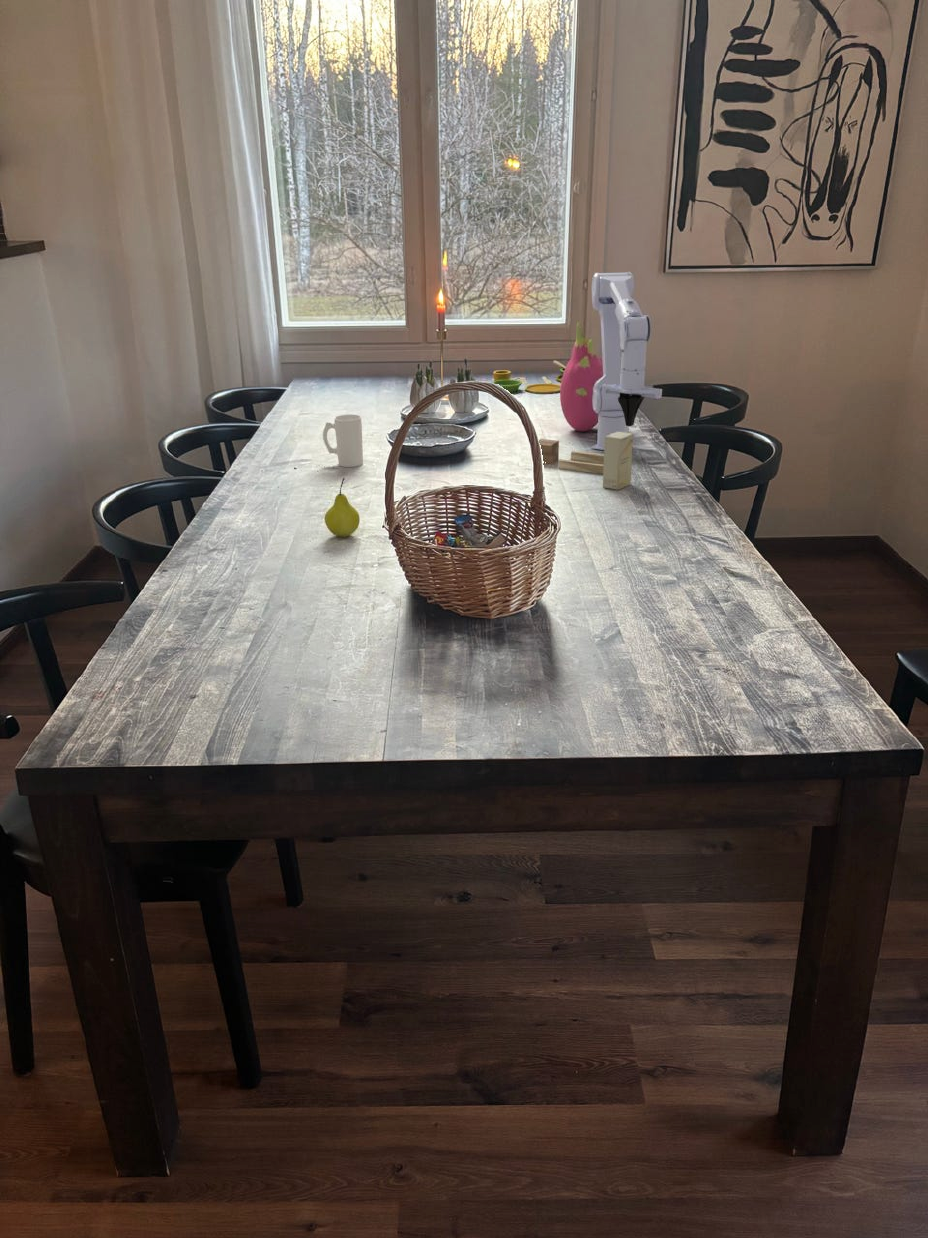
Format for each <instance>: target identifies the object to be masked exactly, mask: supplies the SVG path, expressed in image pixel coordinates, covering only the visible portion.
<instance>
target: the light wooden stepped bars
mask: <svg viewBox="0 0 928 1238" xmlns="http://www.w3.org/2000/svg"><path fill="white" fill-rule="evenodd" d="M557 461H558V462H557V463H558V464H557V468H558V469H562V470H568V471H577V472H585V473H590V474H591V473H593V474H599V475H600V474H601V475H603V467H604V454H600V453H593V452H584V451H574V450H573V451H571V452H570V460H567V459H562V458H560V459H558V460H557Z"/></svg>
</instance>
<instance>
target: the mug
mask: <svg viewBox="0 0 928 1238" xmlns="http://www.w3.org/2000/svg"><path fill="white" fill-rule="evenodd" d="M333 420H334V423H332V422H331V421H326V422H325V425H324V428H323V432H322V440H323V442H324V445H325V447H326V449H327V451H328V453H329V454H334V455H337V459H338V460H337V461H338V466H339V467H344V468H356V467H359V466H362V465H363V464H364V455H363V453H364V452H363V451H364V450H363V425H362V416H361V415H359V414H353V413H352V414H351V413H350V414H340V415H336V416H334V417H333ZM330 429H334V431H335V439H336V441H335V442H336V447H333V446H331V445H332V444H330V443H329V442H330V441H329V439H328V432H329V430H330Z"/></svg>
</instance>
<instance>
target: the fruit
mask: <svg viewBox="0 0 928 1238" xmlns="http://www.w3.org/2000/svg"><path fill="white" fill-rule="evenodd" d="M344 481H345V477H343V478H342V481H341V485H340V489H339V493H338V494H337V495H336V496H335V498H334V502H333V504H332V506H330V508H329V509H328V510H327V511H326V513H325V515H324V518H323V519H324V523H325V527H326V529H328V530H329V532H330V533H331V534H333V535H335V536H336V537H338V538H347V537H350V536H351V535H353V534H354V533H355V532H356V530H357V529H358V528H359V527H360V526H359V525H360V520H361V519H360V514H359V512H358V510H357V509H356V508H355V507H353V506H352V505H351V503H350V502H349V500H348V497H347V496H346V495H345V493H344V494H343V493H342V488H343V484H344Z"/></svg>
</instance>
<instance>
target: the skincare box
mask: <svg viewBox="0 0 928 1238" xmlns="http://www.w3.org/2000/svg"><path fill="white" fill-rule="evenodd" d="M633 441H634V433H631V432H629V433H625V432H619V431H617V432H615V433H612V434H610V435H607V436H605V443H604V450H603V455H604V464H603V465H604V467H603V474H602V487H603V488H606V489H610V490H616V491H617V490H618V491H619V490H622V489H623V488H625V487H627V486H629V485H631V483H632V482H631V481H632V463H633V462H632V461H633V444H634V442H633Z"/></svg>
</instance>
